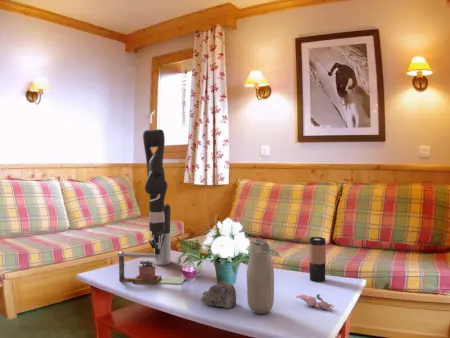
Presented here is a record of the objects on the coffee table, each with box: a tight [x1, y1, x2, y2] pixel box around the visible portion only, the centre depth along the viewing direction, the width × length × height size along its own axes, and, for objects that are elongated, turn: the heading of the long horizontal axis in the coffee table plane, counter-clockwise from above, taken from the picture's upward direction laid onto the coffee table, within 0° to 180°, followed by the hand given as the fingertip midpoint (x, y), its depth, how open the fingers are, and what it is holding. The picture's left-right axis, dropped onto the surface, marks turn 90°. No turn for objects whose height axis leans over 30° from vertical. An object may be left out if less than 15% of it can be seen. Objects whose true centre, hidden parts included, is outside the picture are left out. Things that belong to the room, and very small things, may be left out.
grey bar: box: [117, 251, 160, 260], centre depth 196 cm, size 3×21×3 cm, turn 80°
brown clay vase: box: [246, 239, 275, 315], centre depth 156 cm, size 10×10×28 cm
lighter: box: [138, 260, 156, 279], centre depth 196 cm, size 8×3×10 cm, turn 84°
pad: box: [158, 276, 185, 286], centre depth 196 cm, size 9×11×1 cm
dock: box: [118, 257, 163, 285], centre depth 197 cm, size 7×20×11 cm, turn 80°
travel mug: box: [308, 236, 327, 283], centre depth 195 cm, size 8×8×20 cm
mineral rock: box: [200, 280, 237, 309], centre depth 165 cm, size 13×11×10 cm
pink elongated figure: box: [295, 293, 335, 311], centre depth 162 cm, size 6×6×15 cm
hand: (157, 256), depth 198 cm, fingers closed
